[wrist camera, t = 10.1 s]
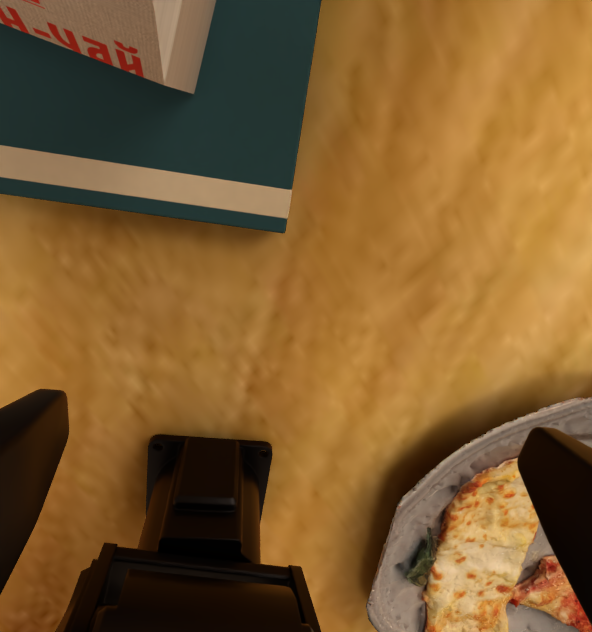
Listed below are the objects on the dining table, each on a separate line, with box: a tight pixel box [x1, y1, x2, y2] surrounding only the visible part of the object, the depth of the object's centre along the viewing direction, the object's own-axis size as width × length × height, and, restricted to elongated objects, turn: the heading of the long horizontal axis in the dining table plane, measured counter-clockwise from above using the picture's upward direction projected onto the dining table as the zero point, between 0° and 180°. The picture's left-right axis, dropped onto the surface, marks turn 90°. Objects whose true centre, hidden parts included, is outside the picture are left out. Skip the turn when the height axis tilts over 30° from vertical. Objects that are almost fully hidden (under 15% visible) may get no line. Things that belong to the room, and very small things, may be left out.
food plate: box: [366, 397, 592, 632], centre depth 28 cm, size 25×23×4 cm
